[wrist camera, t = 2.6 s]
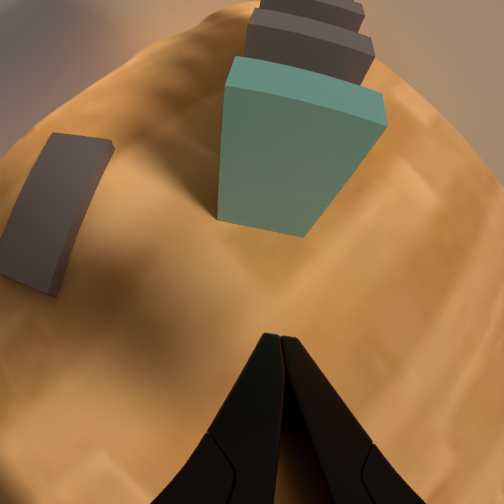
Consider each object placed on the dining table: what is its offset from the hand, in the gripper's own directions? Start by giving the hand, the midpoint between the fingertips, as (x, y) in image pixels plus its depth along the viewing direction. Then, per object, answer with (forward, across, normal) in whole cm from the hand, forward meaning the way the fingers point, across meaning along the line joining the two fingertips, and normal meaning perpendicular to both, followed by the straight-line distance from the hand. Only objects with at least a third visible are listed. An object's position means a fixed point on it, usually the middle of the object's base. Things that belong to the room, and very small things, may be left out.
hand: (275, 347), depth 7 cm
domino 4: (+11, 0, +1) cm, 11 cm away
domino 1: (+10, +13, +3) cm, 17 cm away
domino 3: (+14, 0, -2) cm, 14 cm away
